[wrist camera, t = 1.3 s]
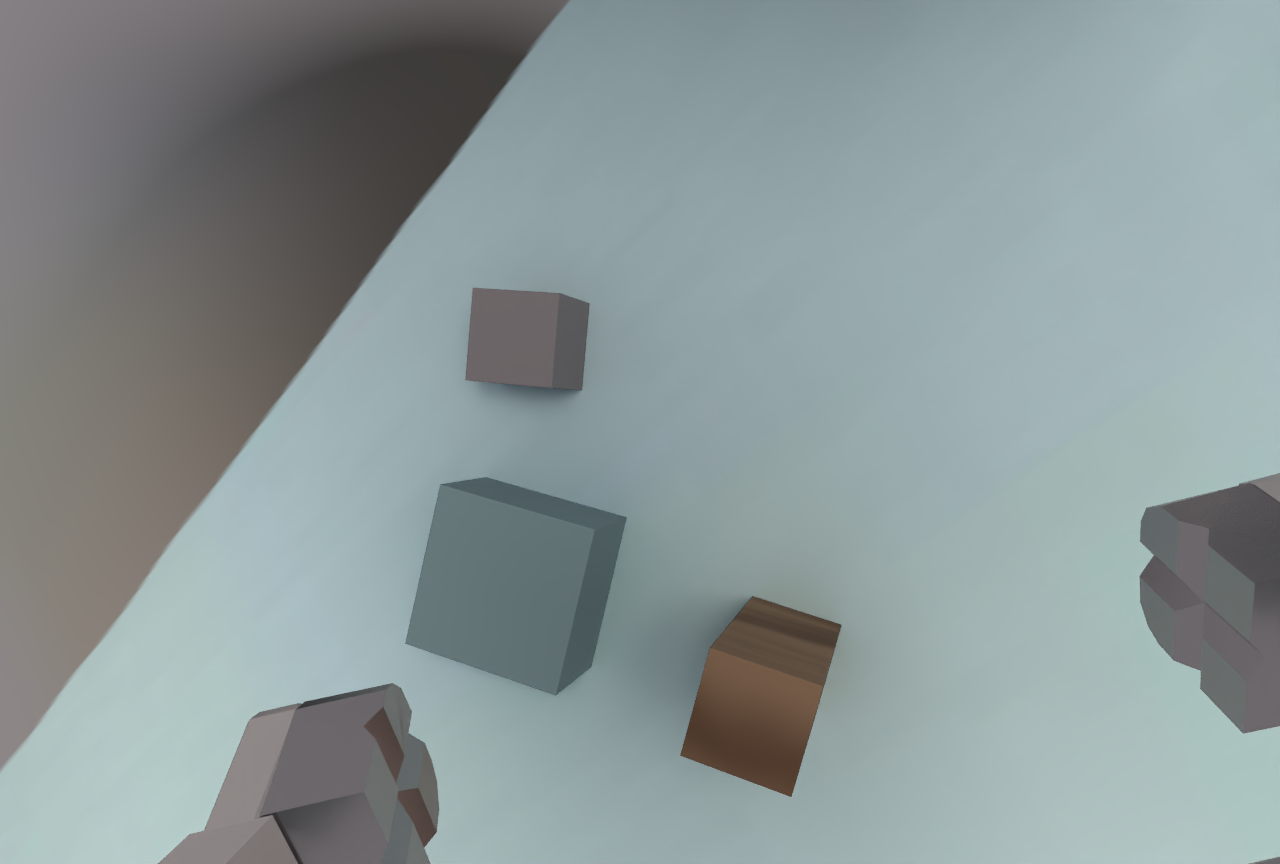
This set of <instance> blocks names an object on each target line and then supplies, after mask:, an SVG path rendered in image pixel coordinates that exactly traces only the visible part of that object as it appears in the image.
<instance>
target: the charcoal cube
mask: <svg viewBox="0 0 1280 864" xmlns="http://www.w3.org/2000/svg"><path fill="white" fill-rule="evenodd" d="M588 315H589V303H587V302H584V301H581V300H578V299H575V298H572V297H569V296H566V295H563V294H560V293H547V292H531V291H515V290H499V289H482V288H473V293H472V306H471V318H470V331H469V343H468V356H467V369H466V380H469V381H481V382H492V383H503V384H514V385H525V386H536V387H547V388H560V389H575V390H582V385H583V373H584V361H585V350H586V338H587V326H588Z"/></svg>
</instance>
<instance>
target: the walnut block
mask: <svg viewBox="0 0 1280 864" xmlns="http://www.w3.org/2000/svg"><path fill="white" fill-rule="evenodd" d="M840 628H841V625H840V624H837V623H834V622H831V621H827V620H824V619H821V618H818V617H815V616H812V615H809V614H806V613H803V612H800V611H797V610H793V609H790V608H787V607H784V606H781V605H778V604H775V603H772V602H769V601H766V600H763V599H759V598H756V597H753V596H752V598H751V599H750V600H749V601H748V602H747V604H746V605H745V606H744V607H743V608H742V610H741V611H740V612H739V613H738V615H737V616H736V617H735V618H734V619H733V621H732V622H731V623H730V624H729V625H728V627H727V628H726V629H725V630H724V631H723V633H722V634H721V635H720V636H719V637H718V639H717V640H716V641H715V642H714V643H713V645H712V646H711V647H710V649H709V653H708V657H707V660H706V664H705V668H704V671H703V675H702V679H701V682H700V686H699V690H698V693H697V697H696V700H695V704H694V708H693V711H692V715H691V719H690V722H689V726H688V730H687V733H686V737H685V741H684V744H683V748H682V751H681V755H680V756H683V757H686V758H688V759H691V760H694V761H696V762H699V763H702V764H704V765H707V766H710V767H712V768H715V769H718V770H720V771H723V772H726V773H729V774H731V775H734V776H737V777H739V778H742V779H745V780H747V781H750V782H753V783H755V784H758V785H761V786H763V787H766V788H769V789H771V790H774V791H777V792H779V793H782V794H785V795H787V796H790V797H791V796H792V793H793V790H794V786H795V783H796V779H797V776H798V773H799V769H800V766H801V763H802V759H803V756H804V753H805V749H806V746H807V742H808V739H809V736H810V732H811V729H812V726H813V722H814V719H815V715H816V712H817V709H818V705H819V702H820V698H821V695H822V691H823V688H824V684H825V681H826V677H827V674H828V670H829V667H830V663H831V660H832V656H833V653H834V649H835V646H836V642H837V639H838V635H839V632H840Z"/></svg>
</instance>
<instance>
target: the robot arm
mask: <svg viewBox="0 0 1280 864" xmlns="http://www.w3.org/2000/svg"><path fill="white" fill-rule="evenodd" d="M1140 542H1141V543H1142V544H1143V545H1144V546H1145V547H1146V548H1147V549H1148V550H1149V551H1150V552H1151V553H1152V554H1153V555H1154V556H1153V558H1152V559H1151V560H1150V562H1149V563H1148V565H1147V566H1146V568H1145V569H1144V571H1143V572H1142V573H1141V575H1140V603H1141V606H1142V609H1143V612H1144V615H1145V618H1146V621H1147V624H1148V627H1149V629H1150V630H1151V632H1152V634H1153V635H1154V637H1155V639H1156V640H1157V642H1158V644H1159V645H1160V646H1161V647H1162V648H1163V649H1164V650H1165V652H1166V653H1167V654H1168V655H1169V656H1170V657H1171V658H1172V659H1173V660H1174V661H1177V662H1179V663H1182V664H1185V665H1187V666H1190V667H1192V668H1195V669H1198V670H1200V671H1201V682H1200V689H1201V690H1202V691H1203V692H1204V693H1205V694H1206V695H1207V696H1208V697H1209V698H1210V699H1211V700H1212V701H1213V703H1214V704H1215V705H1216V706H1217V707H1218V708H1219V709H1220V710H1221V711H1222V712H1223V713H1224V714H1225V715H1226V716H1227V717H1228V718H1229V719H1230V720H1231V721H1232V722H1233V723H1234V724H1235V726H1236V727H1237V728H1238V729H1239V730H1240V731H1241V732H1242V733H1248V732H1253V731H1257V730H1262V729H1267V728H1272V727H1277V726H1280V473H1279V474H1275V475H1271V476H1267V477H1264V478H1260V479H1256V480H1252V481H1248V482H1245V483H1241V484H1239V485H1238V486H1235V487H1231V488H1227V489H1223V490H1218V491H1214V492H1210V493H1206V494H1202V495H1198V496H1194V497H1189V498H1185V499H1181V500H1177V501H1173V502H1169V503H1164V504H1160V505H1156V506H1152V507H1148V508H1146V510H1145V512H1144V515H1143V517H1142V520H1141V532H1140ZM411 714H412V711H411V709H410V707H409V704H408V702H407V700H406V698H405V696H404V693H403V691H402V689H401V688H400V687H398V686H397V685H395V684H394V683H391V684H387V685H382V686H377V687H372V688H368V689H363V690H358V691H353V692H349V693H344V694H339V695H335V696H330V697H325V698H320V699H316V700H311V701H306V702H304V703H303V704H300V703H298V704H293V705H289V706H285V707H280V708H276V709H272V710H267V711H263V712H259V713H258V714H256V715H255V716H254V717H252V718H251V719H250V720H249V722H248V724H247V726H246V729H245V731H244V734H243V736H242V739H241V741H240V743H239V746H238V748H237V751H236V753H235V756H234V758H233V761H232V763H231V766H230V768H229V771H228V773H227V775H226V778H225V780H224V783H223V785H222V788H221V790H220V793H219V795H218V798H217V800H216V803H215V805H214V807H213V810H212V812H211V815H210V817H209V820H208V822H207V825H206V827H205V830H204V831H201V832H197V833H193V834H189V835H188V836H187V837H186V838H185V839H184V840H183V841H182V842H181V843H180V844H179V845H178V846H177V847H175V848H174V849H173V850H172V851H171V852H170V853H169V854H168V855H167V856H166V857H165V858H164V859H163V860H161V861H160V862H159V863H158V864H431V863H430V861H429V859H428V856H427V854H426V852H425V849H424V847H425V846H426V845H427V843H428V842H429V841H430V840H431V838H432V837H433V836H434V835H435V833H436V832H437V824H438V814H439V802H438V789H437V780H436V776H435V772H434V768H433V764H432V760H431V758H430V755H429V753H428V750H427V747H426V745H425V743H424V742H422V741H420V740H419V739H417V738H416V737H414V736H412V735H411V734H409V733H408V732H409V726H410V720H411ZM1250 864H1280V857H1276V858H1272V859H1267V860H1263V861H1259V862H1254V863H1250Z"/></svg>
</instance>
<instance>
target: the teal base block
mask: <svg viewBox="0 0 1280 864" xmlns="http://www.w3.org/2000/svg"><path fill="white" fill-rule="evenodd" d="M625 522H626V517H623V516H619V515H616V514H612V513H609V512H605V511H602V510H598V509H595V508H591V507H588V506H584V505H581V504H577V503H574V502H570V501H567V500H563V499H560V498H556V497H553V496H549V495H546V494H542V493H539V492H535V491H532V490H528V489H525V488H521V487H518V486H514V485H511V484H507V483H504V482H500V481H497V480H493V479H490V478H486V477H485V478H479V479H472V480H466V481H460V482H453V483H447V484H440V488H439V493H438V497H437V502H436V506H435V511H434V516H433V520H432V525H431V529H430V534H429V538H428V543H427V547H426V552H425V556H424V561H423V566H422V570H421V575H420V579H419V584H418V588H417V593H416V597H415V602H414V607H413V611H412V616H411V620H410V625H409V629H408V634H407V638H406V643H405V644H408V645H411V646H414V647H417V648H420V649H423V650H426V651H429V652H431V653H434V654H437V655H440V656H443V657H446V658H449V659H452V660H455V661H458V662H461V663H464V664H466V665H469V666H472V667H475V668H478V669H481V670H484V671H487V672H490V673H493V674H496V675H498V676H501V677H504V678H507V679H510V680H513V681H516V682H519V683H522V684H525V685H528V686H530V687H533V688H536V689H539V690H542V691H545V692H548V693H551V694H554V695H557V694H558V693H559V692H561V691H562V690H563V689H564V688H565V687H567V686H568V685H569V684H570V683H572V682H573V681H574V680H575V679H577V678H578V677H579V676H580V675H582V674H583V673H584V672H585V671H586V670H588V669H589V668H590V667H591V665H592V661H593V657H594V653H595V648H596V644H597V640H598V636H599V632H600V627H601V623H602V619H603V615H604V611H605V606H606V602H607V598H608V594H609V590H610V585H611V581H612V577H613V573H614V569H615V564H616V560H617V556H618V552H619V547H620V543H621V539H622V535H623V531H624V526H625Z"/></svg>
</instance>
